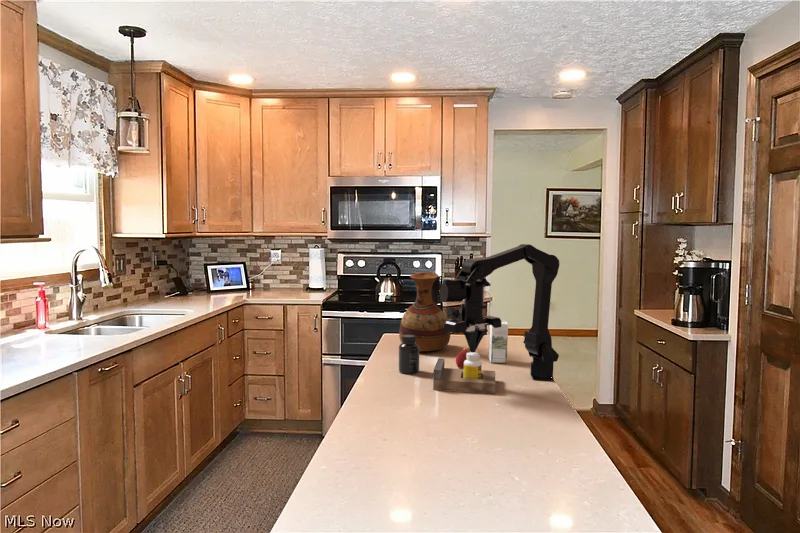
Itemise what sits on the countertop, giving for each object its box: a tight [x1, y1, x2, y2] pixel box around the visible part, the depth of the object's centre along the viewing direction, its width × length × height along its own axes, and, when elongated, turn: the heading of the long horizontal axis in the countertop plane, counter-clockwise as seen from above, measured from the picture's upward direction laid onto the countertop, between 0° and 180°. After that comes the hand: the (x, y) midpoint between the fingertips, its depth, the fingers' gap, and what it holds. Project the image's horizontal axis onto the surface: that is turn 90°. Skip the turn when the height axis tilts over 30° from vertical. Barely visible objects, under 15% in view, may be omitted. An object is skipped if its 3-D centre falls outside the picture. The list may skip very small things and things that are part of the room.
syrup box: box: [488, 320, 509, 364], centre depth 198 cm, size 6×6×14 cm
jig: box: [432, 357, 496, 395], centre depth 170 cm, size 18×14×6 cm
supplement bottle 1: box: [398, 335, 420, 375], centre depth 183 cm, size 7×7×12 cm
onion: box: [455, 347, 469, 369], centre depth 184 cm, size 6×6×8 cm
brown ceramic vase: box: [398, 271, 451, 352], centre depth 216 cm, size 20×20×30 cm
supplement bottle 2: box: [463, 351, 483, 379], centre depth 169 cm, size 5×5×10 cm
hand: (472, 352), depth 169 cm, fingers closed
